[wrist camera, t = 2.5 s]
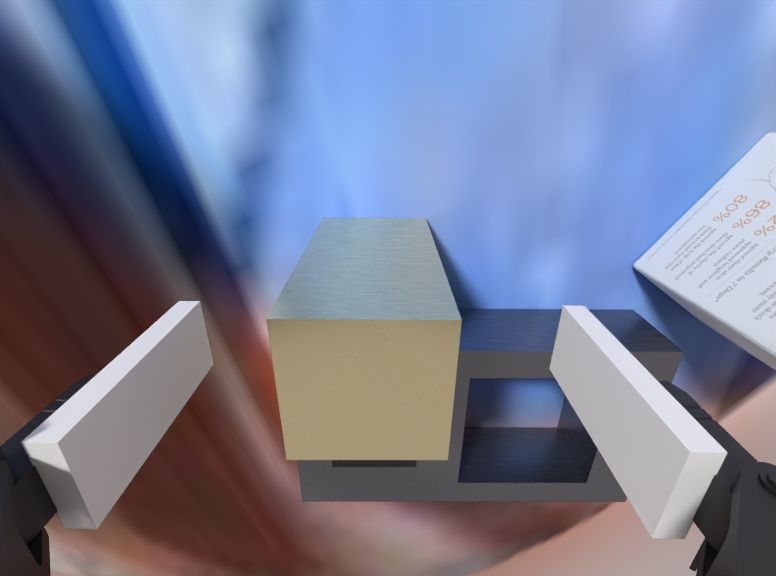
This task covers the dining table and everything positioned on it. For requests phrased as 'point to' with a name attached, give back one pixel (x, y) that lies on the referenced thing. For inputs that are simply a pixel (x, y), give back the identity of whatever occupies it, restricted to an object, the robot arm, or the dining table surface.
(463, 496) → the grey square hole block
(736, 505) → the robot arm
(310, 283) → the beige square peg
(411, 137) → the dining table surface
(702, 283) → the small box
